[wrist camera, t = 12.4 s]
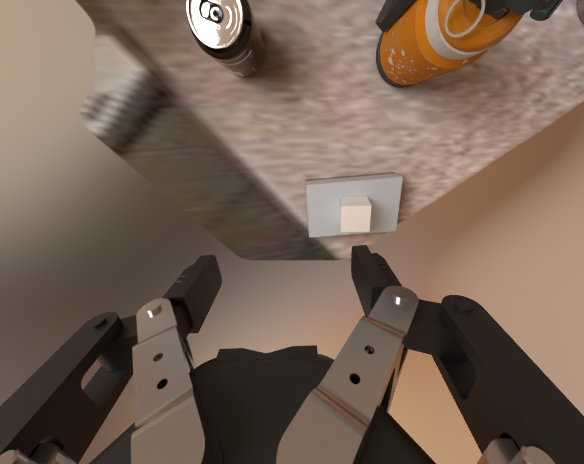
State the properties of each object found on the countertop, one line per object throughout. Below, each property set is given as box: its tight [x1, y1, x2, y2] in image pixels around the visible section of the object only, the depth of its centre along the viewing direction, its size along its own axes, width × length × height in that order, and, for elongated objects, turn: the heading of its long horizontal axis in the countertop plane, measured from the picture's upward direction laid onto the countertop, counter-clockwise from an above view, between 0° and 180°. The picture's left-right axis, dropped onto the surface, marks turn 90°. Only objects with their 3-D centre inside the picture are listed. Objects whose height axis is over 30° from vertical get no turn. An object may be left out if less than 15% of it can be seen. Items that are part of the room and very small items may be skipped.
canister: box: [376, 0, 563, 87], centre depth 23 cm, size 9×11×20 cm
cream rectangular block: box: [340, 196, 371, 232], centre depth 38 cm, size 4×4×8 cm
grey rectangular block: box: [305, 172, 403, 237], centre depth 40 cm, size 16×10×4 cm, turn 95°
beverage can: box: [187, 0, 264, 76], centre depth 27 cm, size 7×7×12 cm
